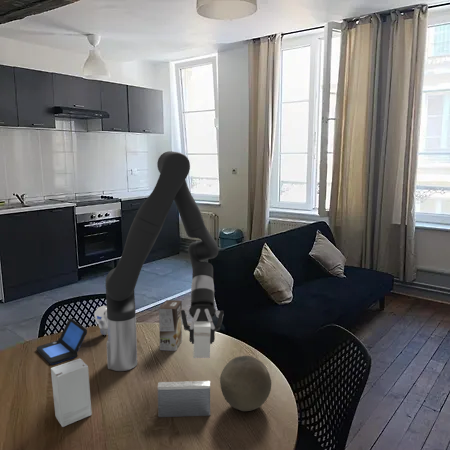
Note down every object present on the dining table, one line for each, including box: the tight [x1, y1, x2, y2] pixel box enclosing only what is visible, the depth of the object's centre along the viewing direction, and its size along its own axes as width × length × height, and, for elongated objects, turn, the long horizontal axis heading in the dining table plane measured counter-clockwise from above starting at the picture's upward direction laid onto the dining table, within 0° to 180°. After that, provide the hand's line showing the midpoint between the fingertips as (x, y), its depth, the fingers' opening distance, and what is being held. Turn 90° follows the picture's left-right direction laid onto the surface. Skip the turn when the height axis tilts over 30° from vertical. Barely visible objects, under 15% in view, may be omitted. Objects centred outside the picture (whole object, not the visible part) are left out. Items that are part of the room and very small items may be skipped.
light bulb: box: [94, 305, 108, 337], centre depth 160 cm, size 7×7×12 cm
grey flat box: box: [157, 380, 211, 418], centre depth 111 cm, size 14×2×9 cm, turn 93°
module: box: [193, 321, 211, 359], centre depth 125 cm, size 5×4×10 cm
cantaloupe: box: [219, 355, 272, 412], centre depth 112 cm, size 14×14×15 cm
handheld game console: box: [36, 317, 88, 365], centre depth 147 cm, size 16×13×9 cm
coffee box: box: [158, 299, 183, 352], centre depth 151 cm, size 9×6×16 cm
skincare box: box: [50, 357, 93, 428], centre depth 109 cm, size 8×6×15 cm
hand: (202, 342), depth 123 cm, fingers closed on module, 5 cm apart
